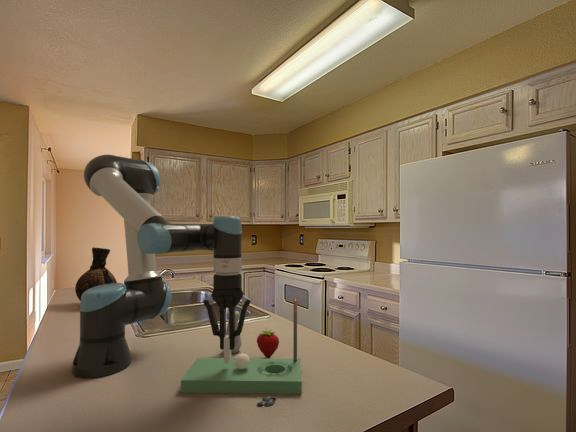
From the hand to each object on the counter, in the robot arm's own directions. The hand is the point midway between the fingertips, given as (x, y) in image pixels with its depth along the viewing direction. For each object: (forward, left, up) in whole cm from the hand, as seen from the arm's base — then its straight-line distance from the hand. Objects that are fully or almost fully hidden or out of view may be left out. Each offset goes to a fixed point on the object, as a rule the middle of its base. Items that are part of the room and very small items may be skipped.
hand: (227, 361), depth 90 cm
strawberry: (+10, +15, -5) cm, 18 cm away
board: (+5, 0, -5) cm, 7 cm away
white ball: (+4, 0, 0) cm, 4 cm away
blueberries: (+11, -10, -6) cm, 16 cm away
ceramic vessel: (-82, +79, -5) cm, 114 cm away
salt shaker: (-2, +21, -5) cm, 21 cm away
